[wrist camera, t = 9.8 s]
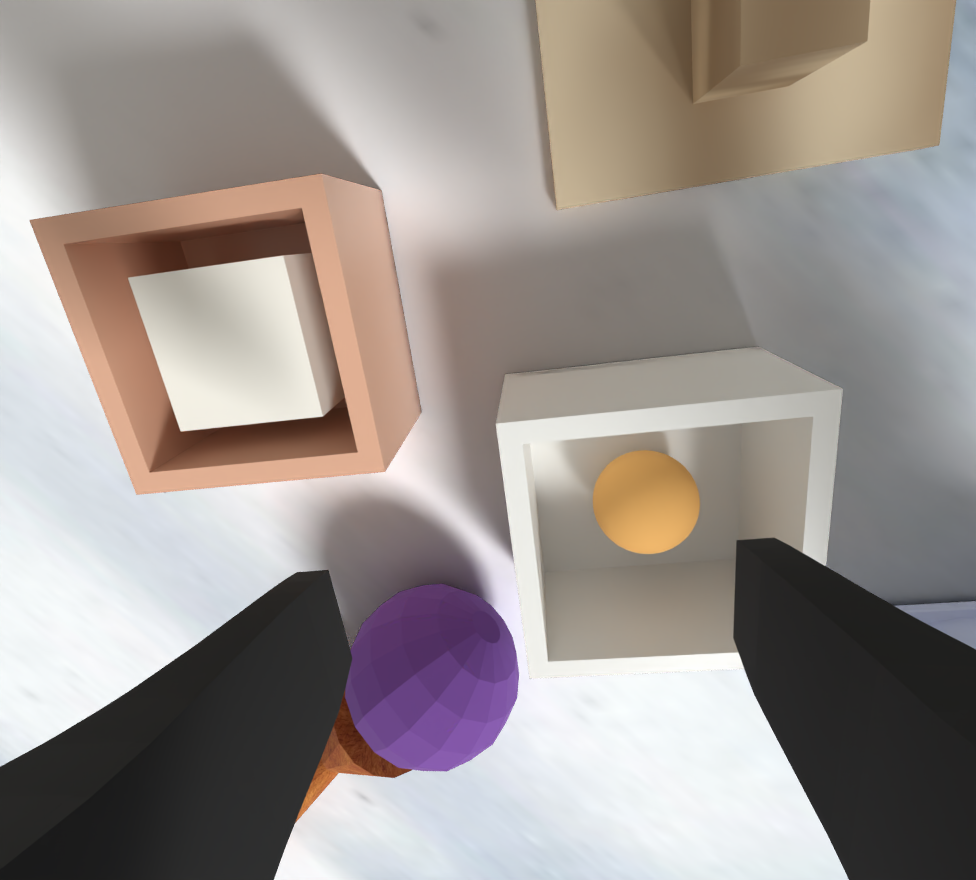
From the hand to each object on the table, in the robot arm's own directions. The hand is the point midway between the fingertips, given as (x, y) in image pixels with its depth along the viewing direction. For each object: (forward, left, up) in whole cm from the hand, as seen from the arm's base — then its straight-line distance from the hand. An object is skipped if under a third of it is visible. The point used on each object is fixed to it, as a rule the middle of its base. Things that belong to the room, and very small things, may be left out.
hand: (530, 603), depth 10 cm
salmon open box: (+7, -4, -10) cm, 13 cm away
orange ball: (-3, +2, -7) cm, 8 cm away
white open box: (-3, +2, -10) cm, 10 cm away
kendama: (+9, +13, -10) cm, 19 cm away
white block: (+7, -4, -9) cm, 12 cm away
